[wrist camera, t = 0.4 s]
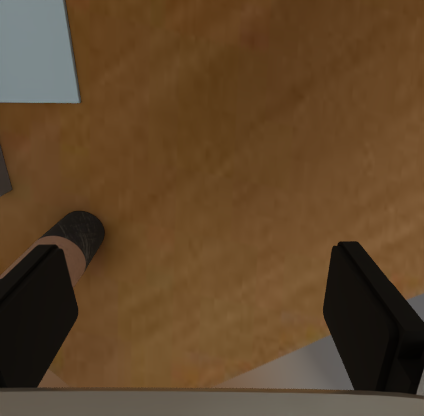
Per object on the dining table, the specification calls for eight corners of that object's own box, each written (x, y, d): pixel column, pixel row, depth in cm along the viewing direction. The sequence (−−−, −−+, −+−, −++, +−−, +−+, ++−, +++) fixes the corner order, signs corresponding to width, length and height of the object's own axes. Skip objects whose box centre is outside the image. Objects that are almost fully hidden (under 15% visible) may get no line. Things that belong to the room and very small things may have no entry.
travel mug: (59, 205, 50) (-35, 285, 31) (107, 213, 50) (42, 297, 32) (60, 246, 53) (-25, 340, 34) (105, 253, 53) (45, 350, 35)
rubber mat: (-32, -1, 38) (-36, -2, 38) (64, -1, 38) (62, -2, 38) (-5, 101, 43) (-8, 102, 43) (81, 102, 43) (79, 102, 43)
